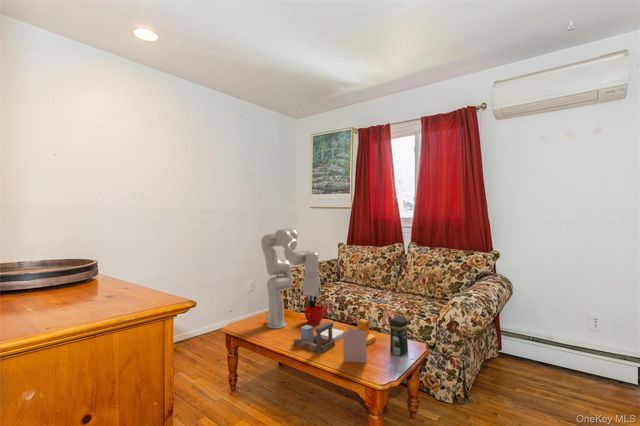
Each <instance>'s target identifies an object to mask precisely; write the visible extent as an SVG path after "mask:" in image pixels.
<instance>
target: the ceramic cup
mask: <svg viewBox="0 0 640 426" xmlns="http://www.w3.org/2000/svg"><path fill="white" fill-rule="evenodd" d="M324 309H325V308H324V306H322V305H319V304H315V307H314V308H310V305H307V306H305V307H304V309H303V310H304V317H305V320H306V321H307V322H308V323H309V324H310V325H312V326H313V325H315V326H316V325H319V324H320V322H321V321H322V320H323V317H324V311H325V310H324Z"/></svg>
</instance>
